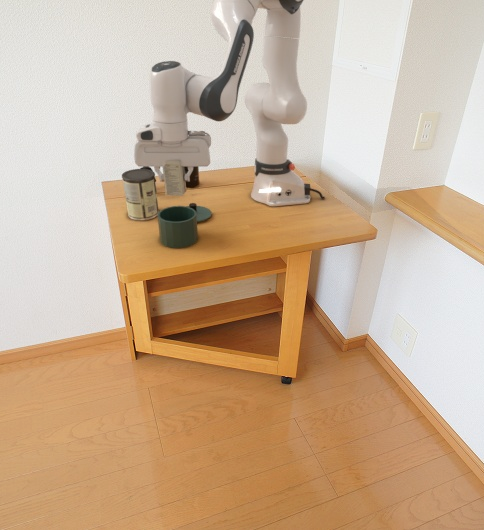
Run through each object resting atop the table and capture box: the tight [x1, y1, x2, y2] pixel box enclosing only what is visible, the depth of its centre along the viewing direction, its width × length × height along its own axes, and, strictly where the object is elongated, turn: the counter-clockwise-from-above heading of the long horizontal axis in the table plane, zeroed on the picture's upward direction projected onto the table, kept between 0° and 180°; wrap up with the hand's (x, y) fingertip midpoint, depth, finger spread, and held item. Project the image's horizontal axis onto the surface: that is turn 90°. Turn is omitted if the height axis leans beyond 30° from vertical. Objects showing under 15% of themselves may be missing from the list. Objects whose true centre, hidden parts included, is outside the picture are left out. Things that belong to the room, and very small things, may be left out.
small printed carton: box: [162, 161, 187, 197], centre depth 114 cm, size 5×4×10 cm
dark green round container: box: [157, 205, 199, 249], centre depth 122 cm, size 11×11×8 cm
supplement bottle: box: [184, 167, 200, 189], centre depth 158 cm, size 7×7×12 cm
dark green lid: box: [185, 202, 212, 223], centre depth 137 cm, size 12×12×4 cm
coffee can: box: [121, 168, 160, 221], centre depth 134 cm, size 10×10×14 cm
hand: (174, 180), depth 115 cm, fingers closed on small printed carton, 5 cm apart
